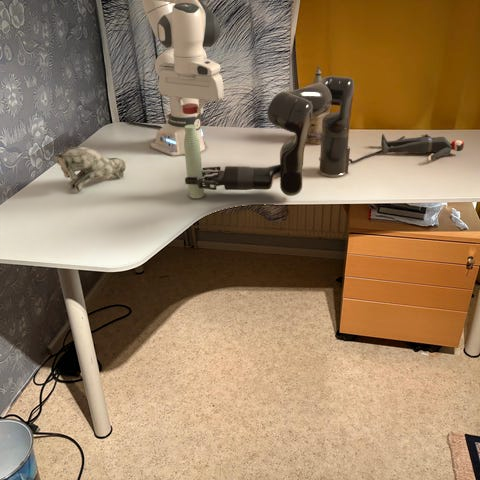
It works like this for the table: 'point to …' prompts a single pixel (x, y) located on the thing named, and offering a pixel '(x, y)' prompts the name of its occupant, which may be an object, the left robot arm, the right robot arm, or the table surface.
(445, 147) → the toy
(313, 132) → the miniature building
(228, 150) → the table surface
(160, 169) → the table surface
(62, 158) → the figurine
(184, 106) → the cap
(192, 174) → the bottle
